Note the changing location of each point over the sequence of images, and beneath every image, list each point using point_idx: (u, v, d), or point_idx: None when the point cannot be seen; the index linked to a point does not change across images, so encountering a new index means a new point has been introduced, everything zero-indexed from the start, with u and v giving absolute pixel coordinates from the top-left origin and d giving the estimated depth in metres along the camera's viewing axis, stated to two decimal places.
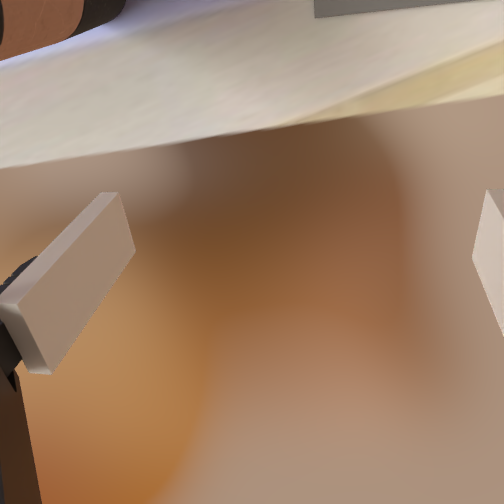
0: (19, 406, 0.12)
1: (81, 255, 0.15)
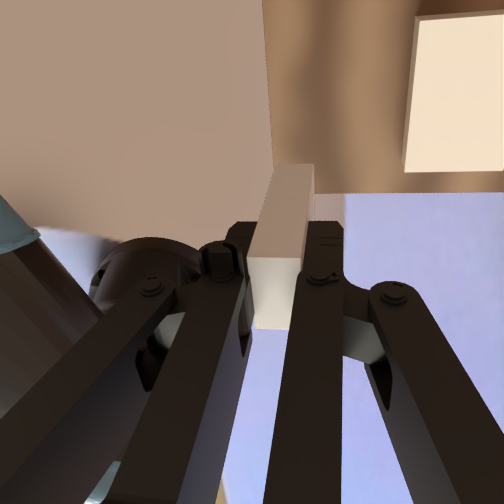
0: (240, 373, 0.12)
1: None
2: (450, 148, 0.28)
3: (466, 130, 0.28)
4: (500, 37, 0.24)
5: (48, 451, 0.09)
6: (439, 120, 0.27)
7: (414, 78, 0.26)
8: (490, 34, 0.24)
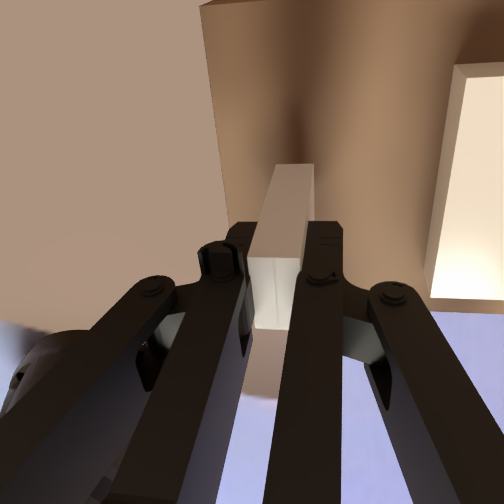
0: (240, 373, 0.12)
1: None
2: None
3: None
4: None
5: (48, 451, 0.09)
6: (490, 229, 0.17)
7: (452, 167, 0.16)
8: None
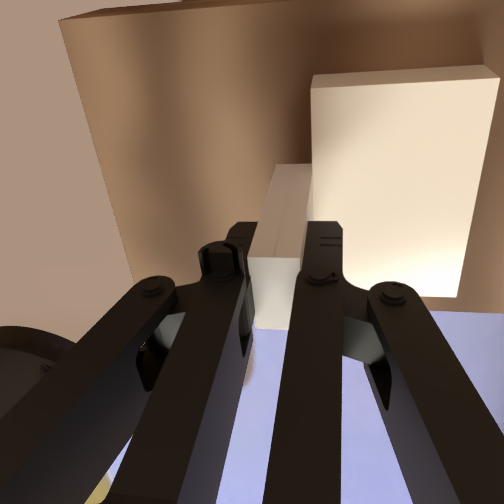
0: (240, 373, 0.12)
1: None
2: (377, 265, 0.19)
3: (398, 243, 0.18)
4: (438, 115, 0.15)
5: (48, 451, 0.09)
6: (357, 228, 0.18)
7: (313, 170, 0.17)
8: (422, 110, 0.15)
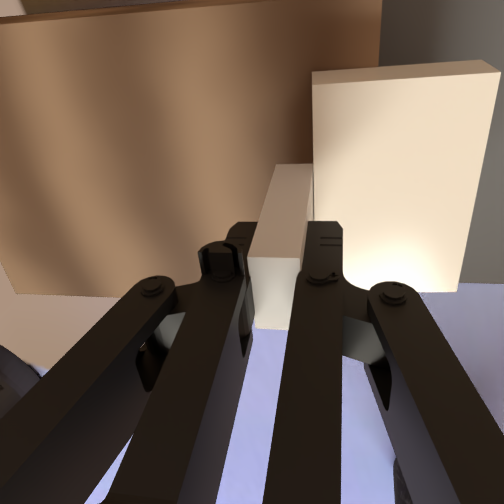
0: (240, 373, 0.12)
1: None
2: (378, 262, 0.19)
3: (399, 239, 0.18)
4: (440, 110, 0.15)
5: (49, 451, 0.09)
6: (358, 226, 0.18)
7: (314, 168, 0.17)
8: (424, 106, 0.15)
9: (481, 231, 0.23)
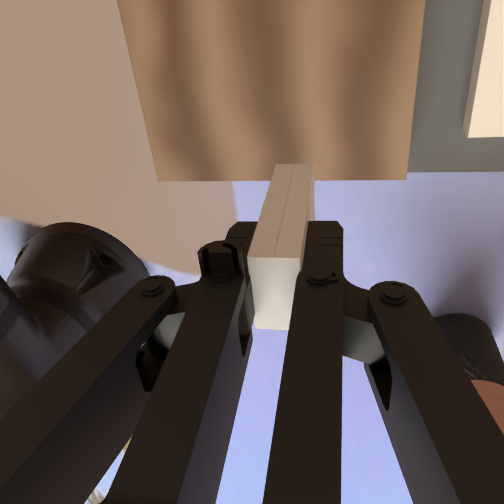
0: (240, 373, 0.12)
1: None
2: None
3: None
4: None
5: (48, 451, 0.09)
6: None
7: None
8: None
9: None
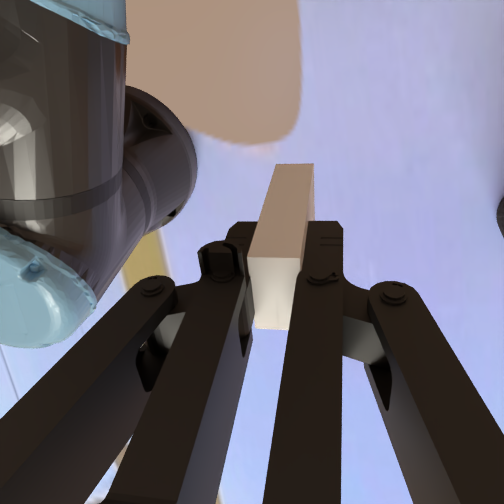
0: (240, 373, 0.12)
1: None
2: None
3: None
4: None
5: (48, 451, 0.09)
6: None
7: None
8: None
9: None
